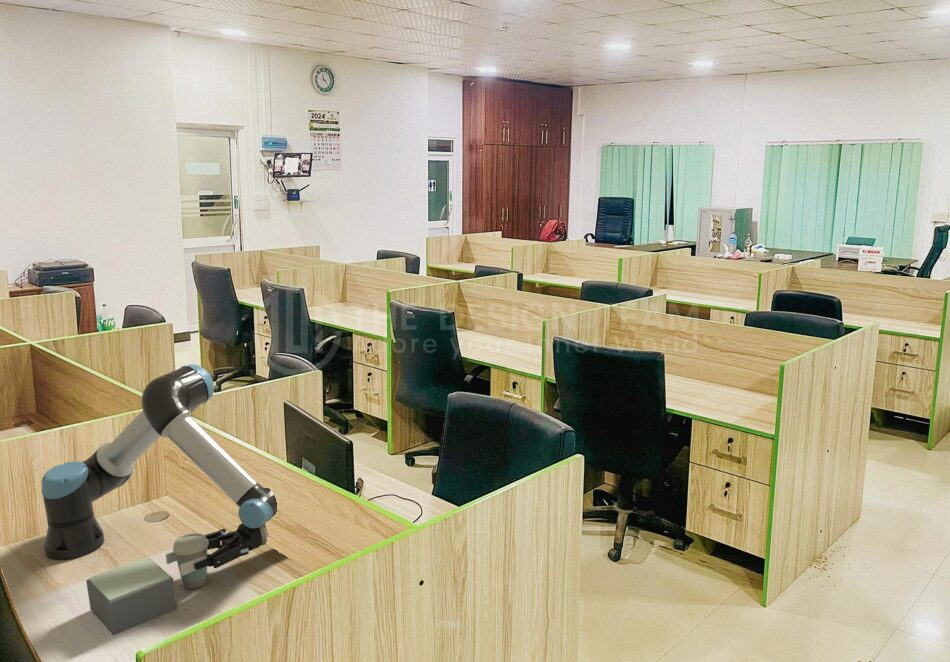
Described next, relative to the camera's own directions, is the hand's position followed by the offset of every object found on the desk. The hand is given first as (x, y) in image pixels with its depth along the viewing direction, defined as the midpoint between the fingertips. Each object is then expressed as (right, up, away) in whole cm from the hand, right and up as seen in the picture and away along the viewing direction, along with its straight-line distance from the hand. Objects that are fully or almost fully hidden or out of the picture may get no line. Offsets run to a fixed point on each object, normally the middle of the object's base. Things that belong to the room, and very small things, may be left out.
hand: (173, 564), depth 193 cm
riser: (-8, -9, -6) cm, 13 cm away
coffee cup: (+4, -6, +5) cm, 9 cm away
